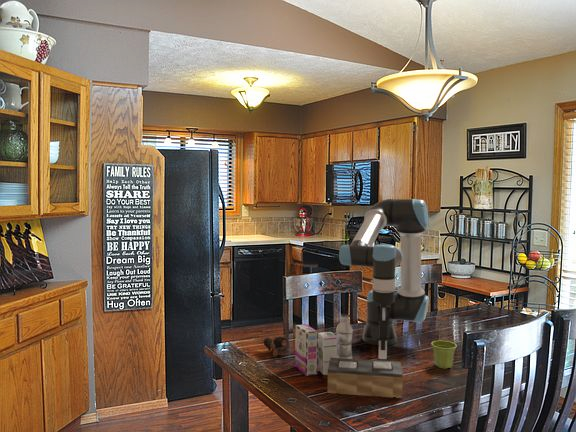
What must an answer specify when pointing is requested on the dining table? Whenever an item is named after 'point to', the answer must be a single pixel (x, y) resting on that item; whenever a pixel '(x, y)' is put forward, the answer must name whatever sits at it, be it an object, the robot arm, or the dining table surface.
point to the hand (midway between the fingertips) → (382, 358)
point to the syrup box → (326, 350)
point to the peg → (382, 366)
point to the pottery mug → (277, 345)
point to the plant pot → (443, 353)
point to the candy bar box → (306, 349)
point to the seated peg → (347, 364)
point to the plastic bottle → (344, 337)
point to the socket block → (365, 379)
